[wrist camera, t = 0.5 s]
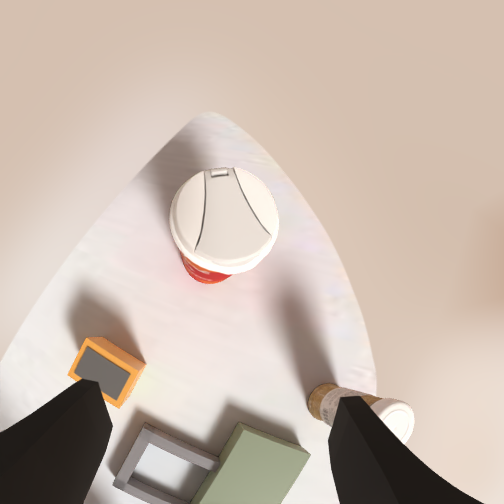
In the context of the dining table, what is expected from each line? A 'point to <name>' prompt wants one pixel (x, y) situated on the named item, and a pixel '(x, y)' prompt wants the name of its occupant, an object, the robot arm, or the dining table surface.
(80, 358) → the chute block
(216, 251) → the paper cup
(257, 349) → the dining table surface
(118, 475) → the green block with knob
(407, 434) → the sprinkles bottle
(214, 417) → the dining table surface
